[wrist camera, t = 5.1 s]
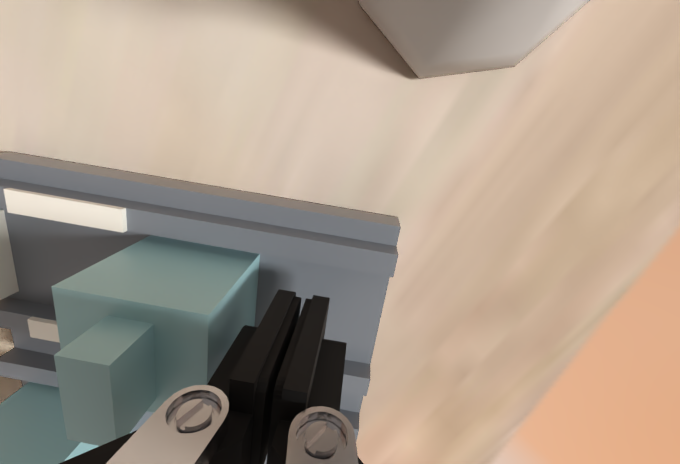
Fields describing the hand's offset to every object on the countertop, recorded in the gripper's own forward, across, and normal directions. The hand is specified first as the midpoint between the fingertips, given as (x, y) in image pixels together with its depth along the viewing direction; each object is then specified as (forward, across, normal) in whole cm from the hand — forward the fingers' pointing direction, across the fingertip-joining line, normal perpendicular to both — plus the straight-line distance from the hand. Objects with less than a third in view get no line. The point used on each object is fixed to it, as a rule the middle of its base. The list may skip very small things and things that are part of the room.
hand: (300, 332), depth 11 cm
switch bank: (+3, +5, +4) cm, 7 cm away
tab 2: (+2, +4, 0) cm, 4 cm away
